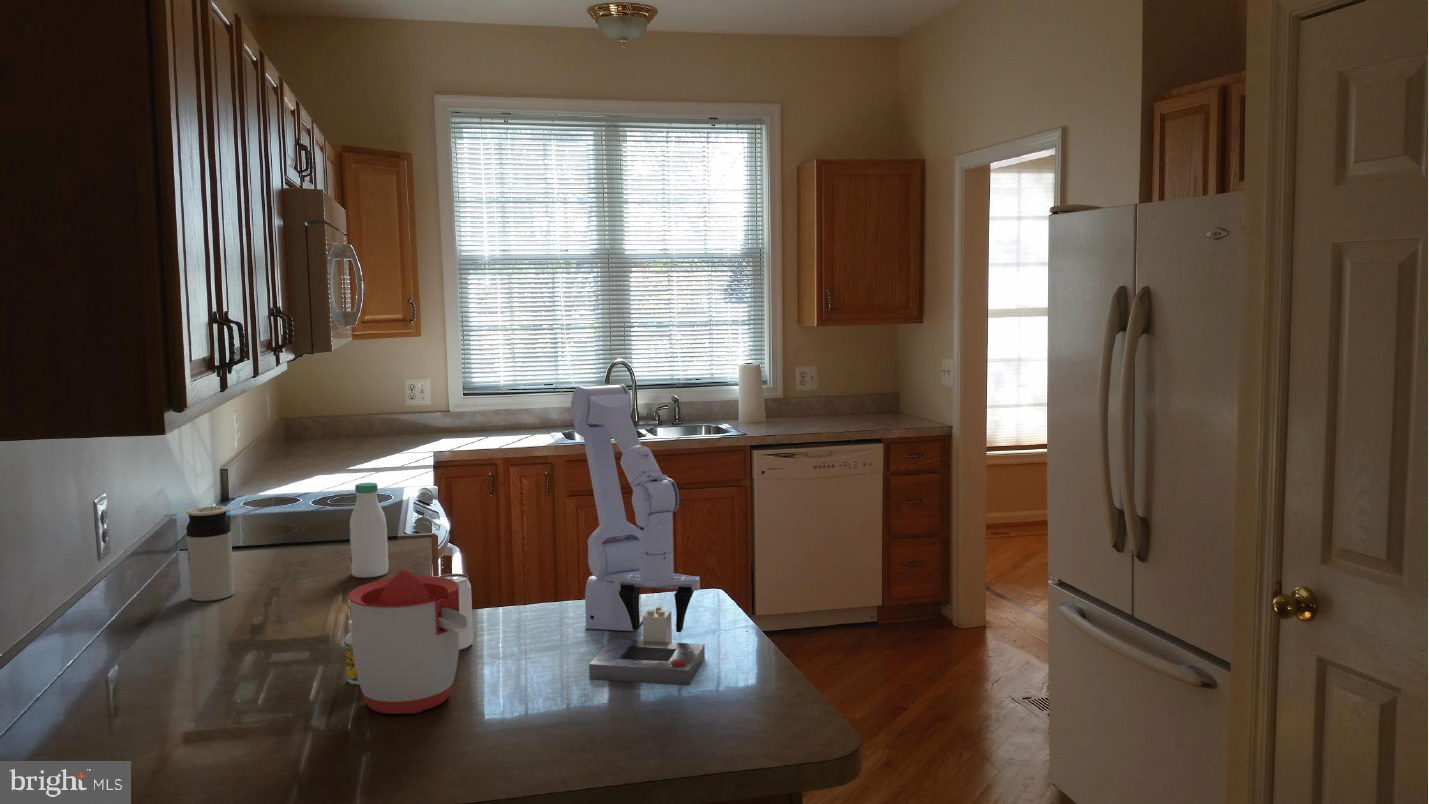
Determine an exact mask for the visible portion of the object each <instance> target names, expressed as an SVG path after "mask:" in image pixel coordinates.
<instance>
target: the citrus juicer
mask: <svg viewBox="0 0 1429 804" xmlns="http://www.w3.org/2000/svg"><path fill="white" fill-rule="evenodd" d="M348 601H350V612H351V613H350V614H351V619H352V640H353V656H354V665H355V670H356V674H357V678H358V682H359V684H360V685H359V687H360V690H361V694H362V696H363V698H364V700H365V702H366V704H367V706H368V707H369V708H370V709H371V710H373V711H375V712H378V713H383V714H389V715H390V714H391V715H398V714H399V715H402V714H410V715H417V714H420V713H422V712H423V711H426V710H430V709H432V708H434V707H437V706H440V705H441V704H442V703H444V702H445V701H446V700H447V699H449V696H450V693H451V691H452V689H453V686H454V683H455V676H456V673H457V667H458V662H459V661H458V660H459V654H460V652H459V632H460V631H462V630H464V629H465V628H466V627H467V619H466V617H465V616H464V615H463V614H461V613H459V585H458V584H457V583H456V582H455V581H453V580H450V579H447V578H442V577H438V576H429V575H428V576H427V575H426V576H425V575H414V574H413V573H412V572H410V571H408V570H407V569H401V570H400V571H399V572H398V573H397V574H395V575H394V576H393V577H392V578H385V579H380V580H377V581H376V580H375V581H371V582H369V583H366V584H363V585H359V586H357V587H355V588H353V590H351V591H350V592H349V594H348ZM351 619H350V620H351ZM419 712H420V713H419ZM416 713H417V714H416Z"/></svg>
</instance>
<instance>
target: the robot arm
mask: <svg viewBox="0 0 1429 804" xmlns="http://www.w3.org/2000/svg"><path fill="white" fill-rule="evenodd" d="M632 402H633V401H632V396H631V392H630V390H629V388H628V387H627V385H626V384H625V383H624V384H623V383H619V384H615V385H612V384H610V385H609V384H608V385H596V386H595V385H592V386H581V385H580V386H577V387H576V388H575V390H573V392H572V396H571V401H570V409H571V414H572V419H573V420H572V421H573V424H574V425H573V426H574V429H575V433H576V434H577V435H579V436H580V437H582V438H583V441H584V448H585V454H586V458H587V459H586V460H587V463H588V468H589V469H588V470H589V474H590V480H591V486H592V490H593V496H594V502H595V507H596V513H597V518H598V526H597V528H596V529H595V530H594V531H593V532H592V533H591V535H589V538H587V547H588V548H587V550H588V553H587V562H588V567H589V570H590V572H591V573H592V575H590V576H589V577H588V579H587V581H586V584H585V592H584V602H585V603H584V606H585V607H584V608H585V625H584V629H587V630H588V629H589V630H604V631H605V630H607V631H609V630H610V631H626V632H627V631H628V632H635V631H637V630H638V629H639V628H640V626H641V624H643V616H644V614H643V615H641V614H640V592H641V590H640V589H641V588H649V589H650V588H651V589H652V588H653V589H672V590H673V589H674V590H675V589H676V592H675V593H673V594H674V595H673V596H674V600H675V601H674V602H675V613H676V615H675V616H676V617H675V618H676V619H675V629H676V630H675V631H676V633H681V632H682V631H683V629H684V622H685V617H686V614H687V610H688V607H689V605H690V601H691V598H692V597H693V594H694V592H696V591H697V592H698V591H699V589H701V583H700V582H701V581H700V580H701V579H700V578H701V577H700V576H695V575H694V576H693V575H687V574H686V575H685V574H679V573H674V532H673V531H674V530H673V529H674V526H673V525H674V524H673V517H674V516H673V515H674V514H673V513H674V512H675V513H676V511H677V510H678V508H679V504H680V496H679V495H680V494H679V490H678V487H677V484H676V482H675V480H674V479H672V478H669V477H668V475H667V474H663V472H662V470H661V468H660V467H659V465H658V463H657V460H656V457H654V454H653V453H652V450H651V449H650V448H649V447H647V446H645V445H644V446H643V445H642V444H641V441H640V439H639V436H638V434H637V431H636V428H635V425H634V423H633V420H632V417H631V414H632V413H631V412H632ZM612 439H613V440H614V442H615V444H616V445H617V447H618V448H619V450H620V452H621V454H622V455H621V458H620V461H619V463H620V465H621V468H622V470H623V472H624V474H625V476H626V478H627V481H628V483H629V485H630V488H631V490H632V496H631V503H632V508H633V510H634V514H635V515H634V516H635V523H636V525H637V526H638V527H637V526H636V525H634V524H633V523H631V522H629V521H628V520H627V515H626V510H625V505H624V501H623V495H622V490H621V484H620V480H619V474H618V469H617V464H616V463H617V462H616V459H615V458H616V457H615V451H614V448H613V442H612Z"/></svg>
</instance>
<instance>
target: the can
mask: <svg viewBox="0 0 1429 804" xmlns="http://www.w3.org/2000/svg"><path fill="white" fill-rule="evenodd" d="M437 577H442V578H447V579H450V580H453V581H455V582H456V583H457V584H458V585H459V613H461V614H463V615H464V616H465V617H466V619H467V627H466V628H465V629H464V630H462V631H460V632H459V650H460V651H463V650H462V649H464V650H466V649H468V648H470V647H471V646H472V644H473V642H474V640H473V639H474V636H473V634H474V631H473V629H474V628H473V627H474V626H473V605H472V601H473V600H472V586H471V583H470V581H469V576H468V574H464V573H447V574H442V575H438V576H437ZM470 645H471V646H470ZM469 646H470V647H469ZM467 647H468V648H467Z"/></svg>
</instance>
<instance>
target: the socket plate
mask: <svg viewBox="0 0 1429 804" xmlns="http://www.w3.org/2000/svg"><path fill="white" fill-rule="evenodd" d="M705 645H706V644H704V643H690V642H689V643H688V642H686V643H685V642H684V643H683V642H673V641H672V642H656V641H643V640H633V639H619V638H618V639H617V638H616V639H615V638H614V639H613V638H610V640H609V641H608V642H607V644H605V645H604V646H603V648H602V649H601V650H600V651H599V652H598V653H597V655H596V656H595V657H594V658H593V659H592V660H591V661H590V662H589V664H588V670H589V673H588V674H589V680H599V679H602V680H601V681H617V682H632V683H633V682H634V683H647V684H649V683H650V684H663V685H664V684H665V685H679V686H689V685H691V683H692V681H693V679H694V677H695V676H696V674H697V672H698V671H699V669H700V667H701V666H702V664H703V662H704V660H705V659H706V656H705V655H706V653H705V651H706V650H705V649H706V647H705Z"/></svg>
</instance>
